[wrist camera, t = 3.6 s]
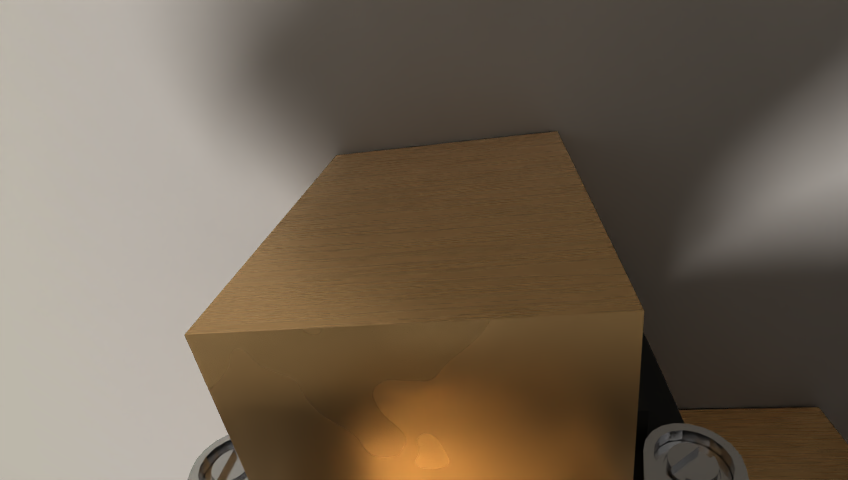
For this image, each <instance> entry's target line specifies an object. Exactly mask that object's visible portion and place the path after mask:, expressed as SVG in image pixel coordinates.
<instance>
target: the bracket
mask: <svg viewBox="0 0 848 480" xmlns="http://www.w3.org/2000/svg"><path fill="white" fill-rule="evenodd" d="M643 323H644V310H643V307H642V305H641V303H640V301H639V299H638V297H637V295H636V293H635V291H634V289H633V287H632V285H631V283H630V281H629V279H628V276H627V274H626V272H625V270H624V268H623V266H622V264H621V262H620V260H619V258H618V256H617V254H616V252H615V250H614V247H613V245H612V243H611V241H610V239H609V237H608V235H607V233H606V231H605V229H604V227H603V225H602V223H601V221H600V218H599V216H598V214H597V212H596V210H595V208H594V206H593V204H592V202H591V200H590V198H589V196H588V194H587V192H586V190H585V187H584V185H583V183H582V181H581V179H580V177H579V175H578V173H577V171H576V169H575V167H574V165H573V163H572V161H571V158H570V156H569V154H568V152H567V150H566V148H565V146H564V144H563V142H562V140H561V138H560V136H559V134H558V132H557V131H554V132H545V133H536V134H527V135H518V136H508V137H499V138H490V139H481V140H472V141H463V142H453V143H444V144H435V145H426V146H417V147H408V148H398V149H389V150H380V151H371V152H362V153H353V154H344V155H336V157H335V158H334V159H333V160H332V161H331V162H330V164H329V165H328V166H327V167H326V168H325V169H324V171H323V172H322V173H321V174H320V175H319V177H318V178H317V179H316V180H315V181H314V182H313V184H312V185H311V186H310V187H309V188H308V190H307V191H306V192H305V193H304V194H303V195H302V197H301V198H300V199H299V200H298V201H297V203H296V204H295V205H294V206H293V207H292V208H291V210H290V211H289V212H288V213H287V214H286V216H285V217H284V218H283V219H282V220H281V221H280V223H279V224H278V225H277V226H276V227H275V229H274V230H273V231H272V232H271V233H270V234H269V236H268V237H267V238H266V239H265V240H264V242H263V243H262V244H261V245H260V246H259V247H258V249H257V250H256V251H255V252H254V253H253V255H252V256H251V257H250V258H249V259H248V260H247V262H246V263H245V264H244V265H243V266H242V268H241V269H240V270H239V271H238V272H237V273H236V275H235V276H234V277H233V278H232V279H231V281H230V282H229V283H228V284H227V285H226V286H225V288H224V289H223V290H222V291H221V292H220V294H219V295H218V296H217V297H216V298H215V299H214V301H213V302H212V303H211V304H210V305H209V307H208V308H207V309H206V310H205V311H204V312H203V314H202V315H201V316H200V317H199V318H198V320H197V321H196V322H195V323H194V324H193V325H192V327H191V328H190V329H189V330H188V331H187V333H186V334H185V337H186V339H187V342H188V344H189V346H190V348H191V351H192V353H193V355H194V358H195V360H196V362H197V364H198V367H199V369H200V371H201V373H202V376H203V378H204V380H205V382H206V385H207V387H208V389H209V391H210V394H211V396H212V398H213V400H214V403H215V405H216V407H217V410H218V412H219V414H220V416H221V419H222V421H223V423H224V425H225V428H226V430H227V432H228V434H229V437H230V439H231V441H232V443H233V446H234V448H235V450H236V452H237V455H238V457H239V459H240V462H241V464H242V466H243V468H244V471H245V473H246V475H247V477H248V480H633V474H634V459H635V443H636V428H637V413H638V398H639V383H640V368H641V353H642V338H643ZM679 412H680V414H681V416H682V419H683V421H684V423H685V424H692V425H696V426H699V427H703V428H706V429H708V430H710V431H712V432H714V433H716V434H718V435H720V436H721V437H723V438H724V439H725V440H727V441H728V442H729V443H731V444H732V445H733V447H734V448H735V449H736V450H737V451H738V452H739V454H740V455H741V457H742V459H743V461H744V463H745V466H746V468H747V472H748V477H749V480H848V444H847V443H846V442H845V440H844V439H843V438H842V437H841V435H840V434H839V433H838V431H837V430H836V429H835V428H834V426H833V425H832V424H831V422H830V421H829V420H828V419H827V417H826V416H825V415H824V414H823V412H822V411H821V410H820V408H819V407H806V408H759V409H712V410H679Z"/></svg>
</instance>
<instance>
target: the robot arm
mask: <svg viewBox="0 0 848 480" xmlns="http://www.w3.org/2000/svg"><path fill="white" fill-rule="evenodd" d="M188 480H248V477H247V475H246V473H245V471H244V468H243V466H242V464H241V462H240V459H239V457H238V455H237V452H236V450H235V448H234V446H233V443H232V441H231V439H230V437H229V435H227V436H225V437H223V438H221V439H219V440H217V441H215V442H214V443H213V444H212V445H210V446H209V447H208V448H207V449H205V450H204V451H203V453H202V454H201V455H200V456H199V457H198V458H197V460H196V461H195V463H194V465H193V467H192V469H191V471H190V474H189V477H188ZM633 480H749V477H748V472H747V468H746V466H745V463H744V461H743V459H742V457H741V455H740V454H739V452H738V451H737V450H736V449H735V448H734V447H733V445H732V444H731V443H729V442H728V441H727V440H725V439H724V438H723V437H721V436H720V435H718V434H716V433H714V432H712V431H710V430H708V429H706V428H703V427H699V426H696V425H692V424H685V423H684V421H683V419H682V416H681V414H680V412H679V410H678V407H677V405H676V403H675V401H674V399H673V396H672V394H671V392H670V390H669V388H668V385H667V383H666V381H665V379H664V376H663V374H662V372H661V370H660V368H659V365H658V363H657V361H656V359H655V356H654V354H653V352H652V350H651V348H650V345H649V343H648V341H647V339H646V337H645V335H644V333H643V338H642V353H641V368H640V383H639V398H638V413H637V428H636V443H635V459H634V474H633Z"/></svg>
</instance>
